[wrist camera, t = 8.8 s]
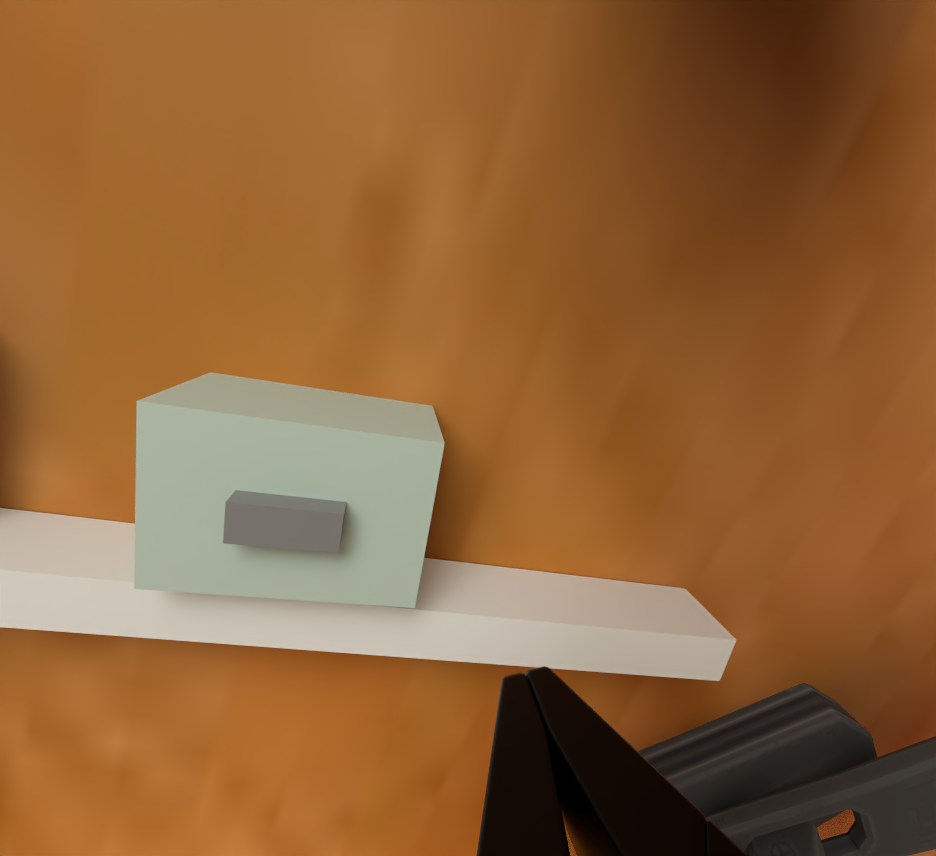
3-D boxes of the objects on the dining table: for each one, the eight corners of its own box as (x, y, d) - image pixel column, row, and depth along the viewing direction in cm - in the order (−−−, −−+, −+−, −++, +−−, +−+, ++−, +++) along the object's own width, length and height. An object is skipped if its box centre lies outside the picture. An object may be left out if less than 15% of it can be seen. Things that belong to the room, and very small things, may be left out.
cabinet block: (212, 371, 17) (118, 407, 11) (432, 405, 18) (447, 452, 13) (204, 511, 18) (117, 606, 12) (410, 532, 19) (415, 625, 14)
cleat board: (-118, 289, 14) (-273, 286, 11) (736, 449, 20) (802, 479, 17) (-98, 547, 16) (-224, 610, 13) (671, 624, 22) (719, 681, 19)
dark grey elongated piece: (1185, 797, 21) (697, 1052, 21) (1003, 682, 27) (627, 877, 27) (1193, 659, 18) (633, 950, 18) (990, 567, 25) (572, 782, 25)
